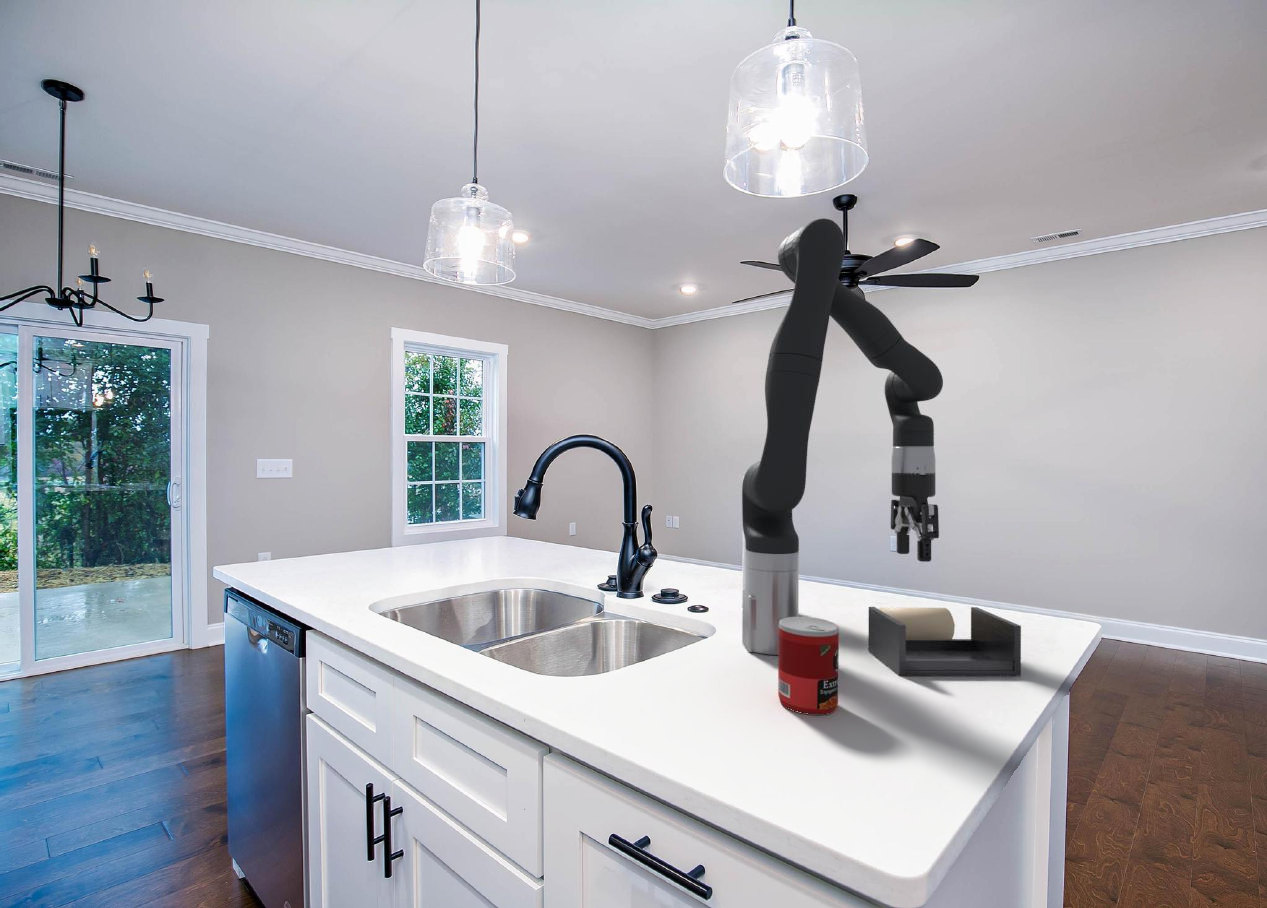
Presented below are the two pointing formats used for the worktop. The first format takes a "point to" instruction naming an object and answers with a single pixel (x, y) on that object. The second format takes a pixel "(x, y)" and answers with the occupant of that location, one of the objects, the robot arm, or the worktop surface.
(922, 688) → the worktop surface
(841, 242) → the robot arm
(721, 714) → the worktop surface
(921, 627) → the cylinder
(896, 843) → the worktop surface
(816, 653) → the canned food
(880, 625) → the roll holder
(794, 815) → the worktop surface
